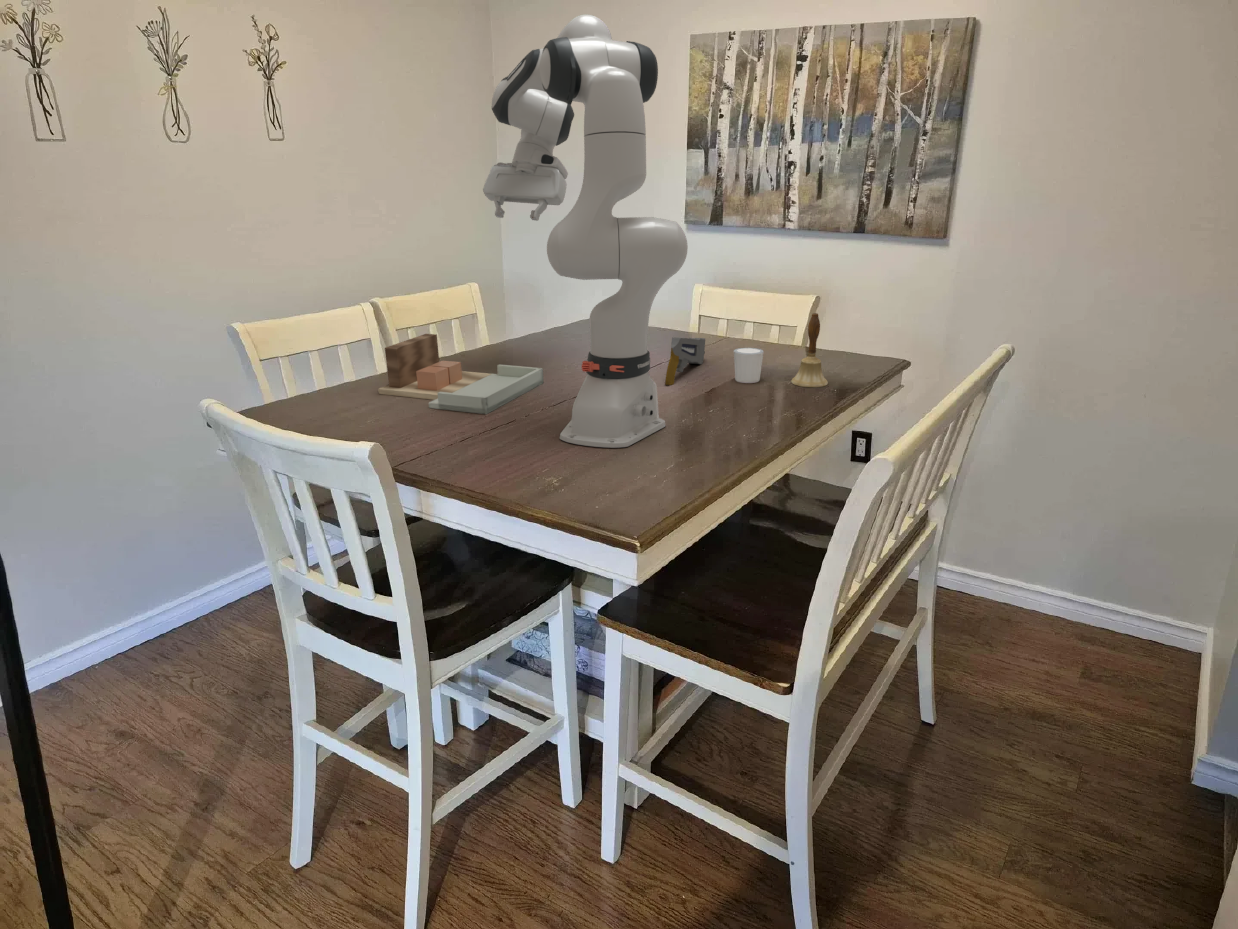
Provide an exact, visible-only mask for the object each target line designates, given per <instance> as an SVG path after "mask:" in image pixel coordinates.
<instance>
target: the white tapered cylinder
mask: <svg viewBox="0 0 1238 929" xmlns="http://www.w3.org/2000/svg"><path fill="white" fill-rule="evenodd" d="M763 357H764V350H763V349H761V348H755V347H739V348H735V349H733V362H734V363H733V364H734V380H735V381H736V382H737V383H742V384H753V383H758V382H760V380H761V372H762V365H763Z"/></svg>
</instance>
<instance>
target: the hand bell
mask: <svg viewBox="0 0 1238 929" xmlns="http://www.w3.org/2000/svg"><path fill="white" fill-rule="evenodd" d="M807 325H808V326H807V327H808V328H807V334H808V340H809V341H808V342H809V344H808V349H807V350H808V352H807V356H806V357H803V358H802V359H801V360H800V365H799V369H798V371H797V373H796V374H795V376H794V377H792V378H791V380H790V383H791V384H792V385H795V386H797V387H801V388H822V387H826V386H827V385H828V384H829V381H828V380H827V379H826V377H825V376H824V373H823V371H822V369H823V368H822V360H821V359H820V358H818V357H817V355H816V353H817V341H818V338H819V335H820V330H821V321H820V318H819V313H817V312H813V313H811V317H810V319H809V321H808V324H807Z"/></svg>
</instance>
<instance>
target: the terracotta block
mask: <svg viewBox="0 0 1238 929" xmlns="http://www.w3.org/2000/svg"><path fill="white" fill-rule="evenodd" d="M416 374H417V384H418V389H426V390H436V391H437V390H439V389H442V388H444V387H446V386H448V385H449V376H448V368H445V367H434V366H428V367H425V368H423V369H420V370H418V371H416Z"/></svg>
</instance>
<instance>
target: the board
mask: <svg viewBox="0 0 1238 929" xmlns="http://www.w3.org/2000/svg"><path fill="white" fill-rule="evenodd" d="M491 374H492V373H486V372H478V371H475V372H474V371H465V370H464V371H463V370H462V379H461V380H459V381H457V382H455V383H453V384H449V385H448V386H446V387H444V388H442V389H439V390H437V391H436V390H426V389H418V384H417V381H416V382H414V383H412V384H409V385H407V386H404V387H402V388H393V387H389V384H386V385H385V386H381V387H379V388H377V390H378V391H377V392H378V395H383V396H394V397H404V398H413V399H422V400H423V399H424V400H431V401H433V400H436V399H438V392H448V393H453V392H455V391H457V390H459V389H461V388H463V387H465V386H468V385H470V384H472V383H474V382H476V381H478V380H480V379H482V378H484V377H487V376H489V375H491Z"/></svg>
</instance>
